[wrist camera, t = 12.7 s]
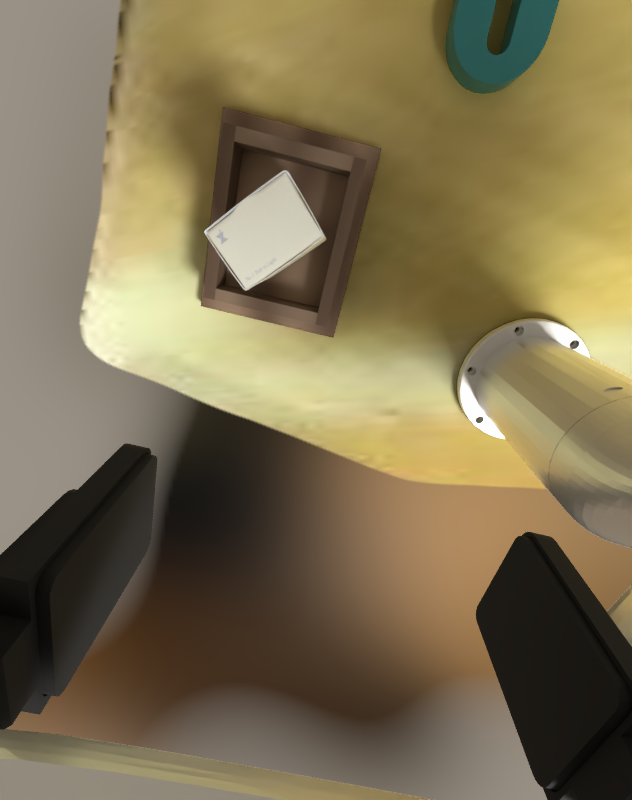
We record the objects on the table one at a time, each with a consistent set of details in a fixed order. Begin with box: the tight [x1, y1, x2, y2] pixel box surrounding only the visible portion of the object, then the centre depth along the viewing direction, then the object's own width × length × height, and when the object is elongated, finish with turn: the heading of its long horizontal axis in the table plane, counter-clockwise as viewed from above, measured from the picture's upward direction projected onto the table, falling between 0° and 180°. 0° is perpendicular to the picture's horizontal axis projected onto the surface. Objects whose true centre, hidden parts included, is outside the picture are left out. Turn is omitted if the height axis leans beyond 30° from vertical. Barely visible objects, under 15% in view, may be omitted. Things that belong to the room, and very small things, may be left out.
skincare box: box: [204, 170, 327, 290], centre depth 29 cm, size 6×4×12 cm
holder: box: [201, 107, 381, 337], centre depth 33 cm, size 13×16×4 cm
